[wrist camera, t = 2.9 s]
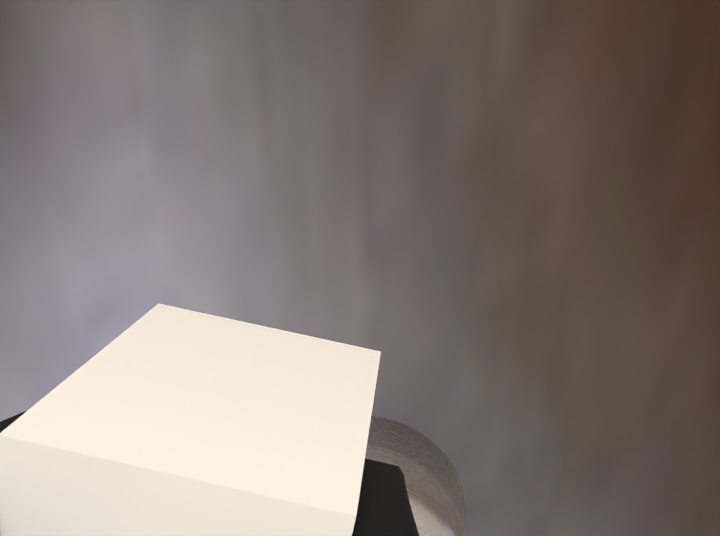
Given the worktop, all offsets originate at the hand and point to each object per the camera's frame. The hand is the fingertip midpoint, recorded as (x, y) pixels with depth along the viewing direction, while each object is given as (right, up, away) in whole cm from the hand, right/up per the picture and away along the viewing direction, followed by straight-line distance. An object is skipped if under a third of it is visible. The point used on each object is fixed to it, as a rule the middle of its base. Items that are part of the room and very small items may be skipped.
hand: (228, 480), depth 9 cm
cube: (0, +1, +1) cm, 2 cm away
